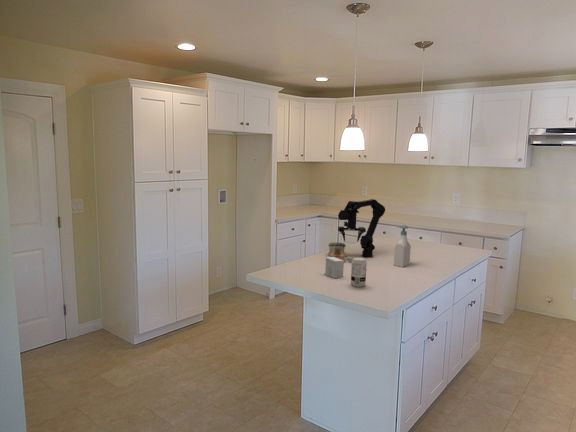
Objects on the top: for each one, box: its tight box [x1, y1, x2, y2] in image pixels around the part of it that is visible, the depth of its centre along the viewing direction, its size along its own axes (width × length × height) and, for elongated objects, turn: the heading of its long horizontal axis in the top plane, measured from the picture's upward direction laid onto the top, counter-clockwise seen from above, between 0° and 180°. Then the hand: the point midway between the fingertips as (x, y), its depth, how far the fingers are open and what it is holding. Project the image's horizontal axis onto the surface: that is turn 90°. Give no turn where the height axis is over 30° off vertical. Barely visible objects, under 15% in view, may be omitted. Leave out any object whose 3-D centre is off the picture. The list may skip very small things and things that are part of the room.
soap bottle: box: [393, 224, 412, 268], centre depth 283 cm, size 11×8×27 cm
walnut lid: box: [328, 247, 348, 258], centre depth 288 cm, size 11×11×5 cm
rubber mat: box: [345, 258, 353, 264], centre depth 290 cm, size 12×12×1 cm
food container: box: [328, 242, 346, 253], centre depth 303 cm, size 12×6×10 cm, turn 84°
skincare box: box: [324, 256, 345, 279], centre depth 254 cm, size 10×6×10 cm, turn 30°
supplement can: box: [350, 257, 368, 288], centre depth 236 cm, size 8×8×15 cm
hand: (351, 241), depth 294 cm, fingers open, 9 cm apart
